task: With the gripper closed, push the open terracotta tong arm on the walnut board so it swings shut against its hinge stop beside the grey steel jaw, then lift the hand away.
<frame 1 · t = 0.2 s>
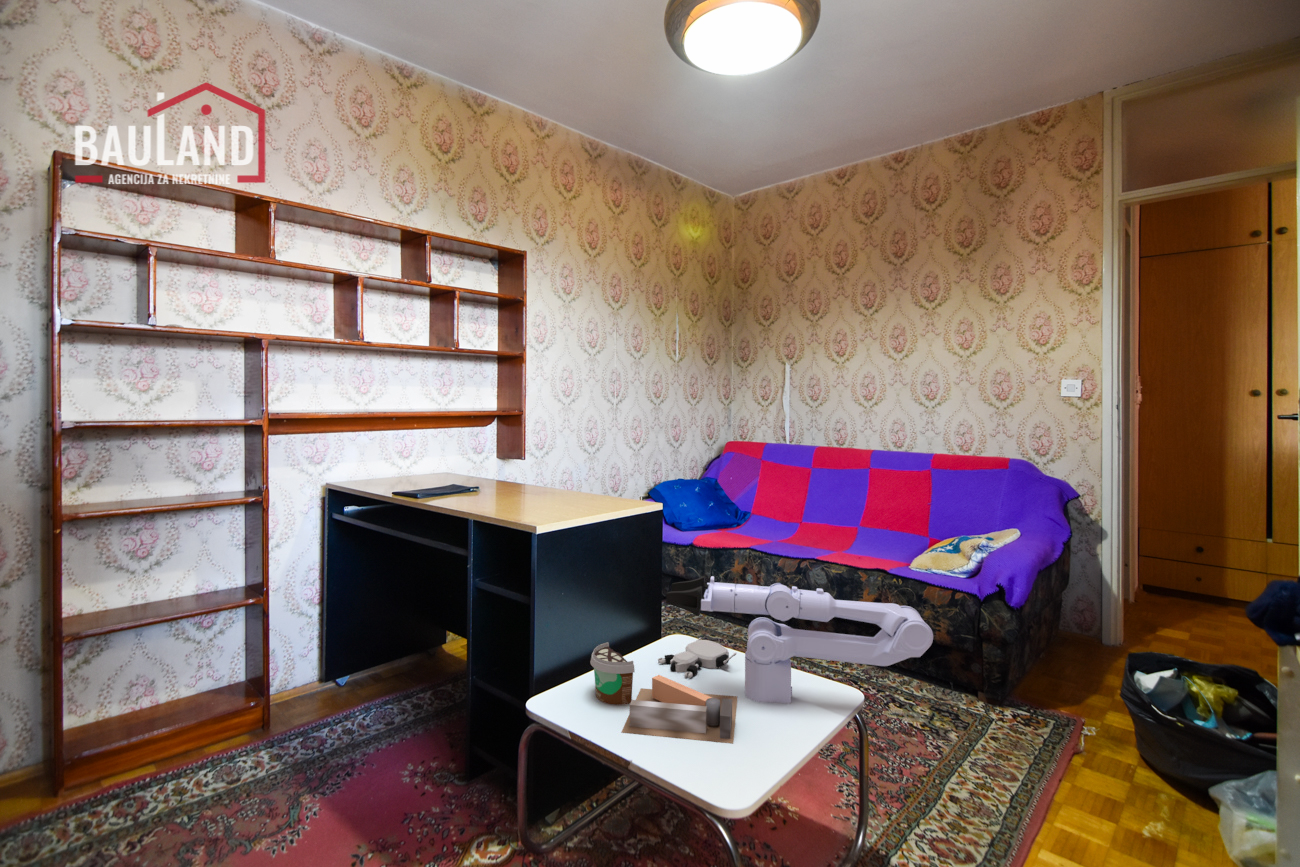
hand: (669, 592, 128), 21 cm above the table, tool horizontal, fingers open, 7 cm apart
food container: (607, 703, 124), on the table
tong board: (682, 719, 117), on the table
robot toy: (696, 670, 141), on the table
tong arm: (685, 699, 118), point 4 cm above the table, hinge at 35.0°
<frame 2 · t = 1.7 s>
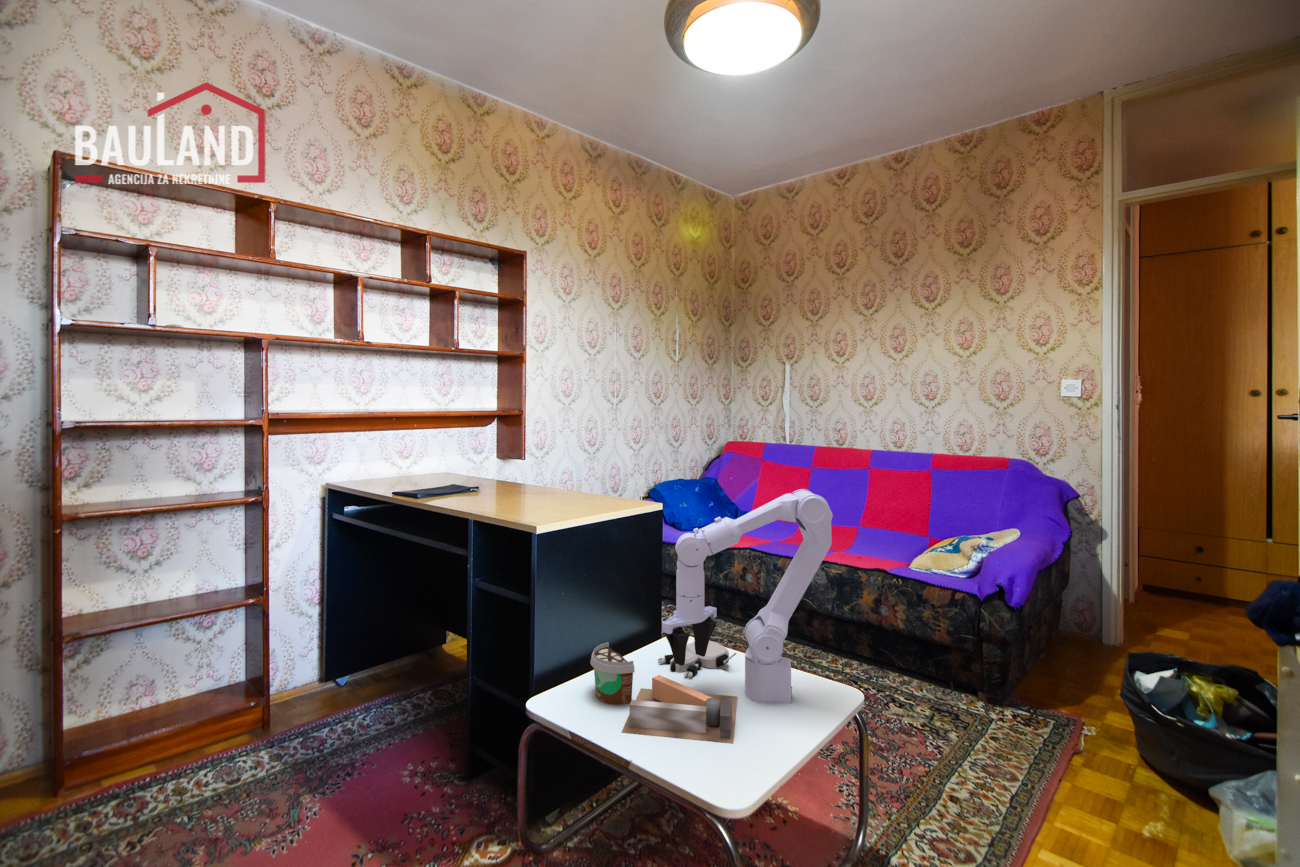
hand: (690, 659, 125), 8 cm above the table, tool pointing down, fingers open, 6 cm apart
nothing on the table moved.
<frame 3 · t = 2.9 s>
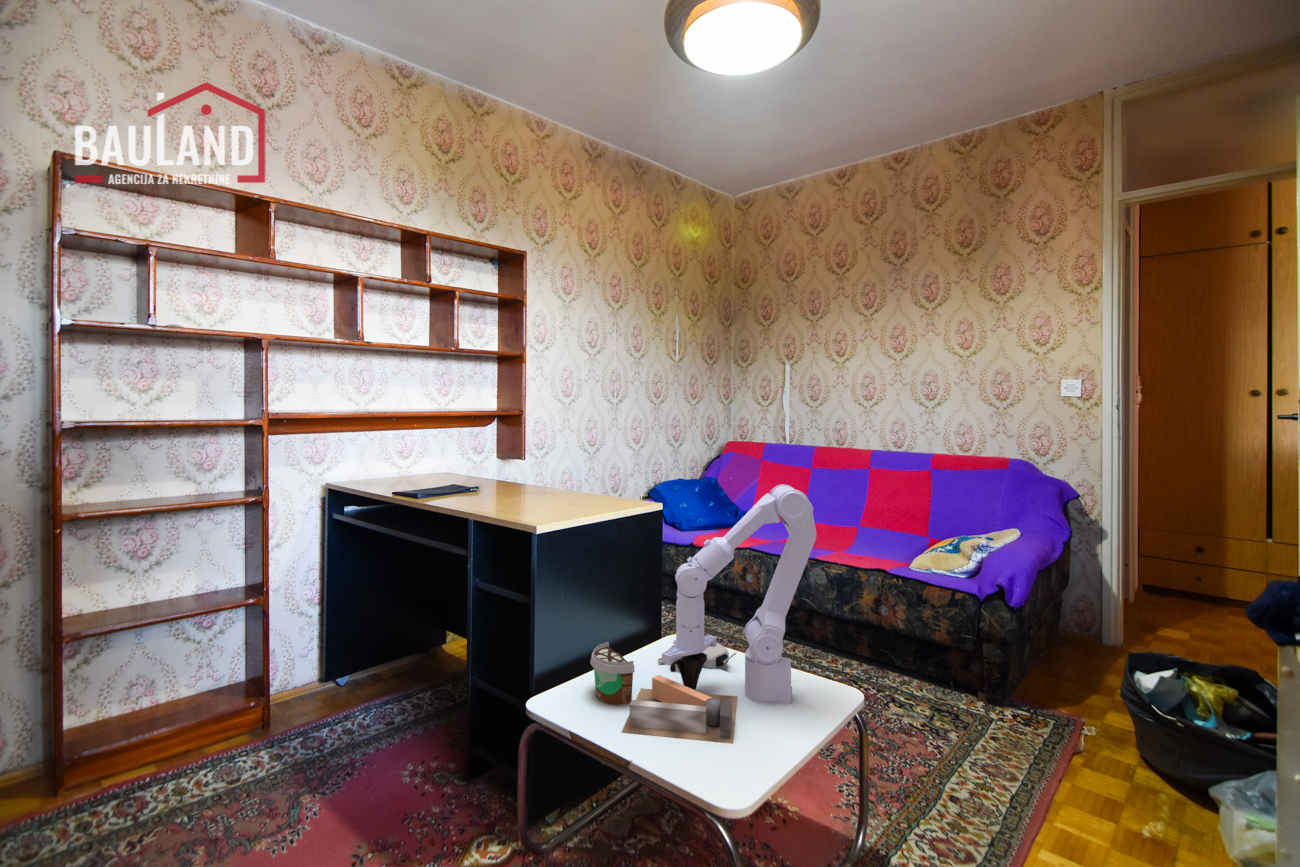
hand: (689, 689, 125), 2 cm above the table, tool pointing down, fingers closed
nothing on the table moved.
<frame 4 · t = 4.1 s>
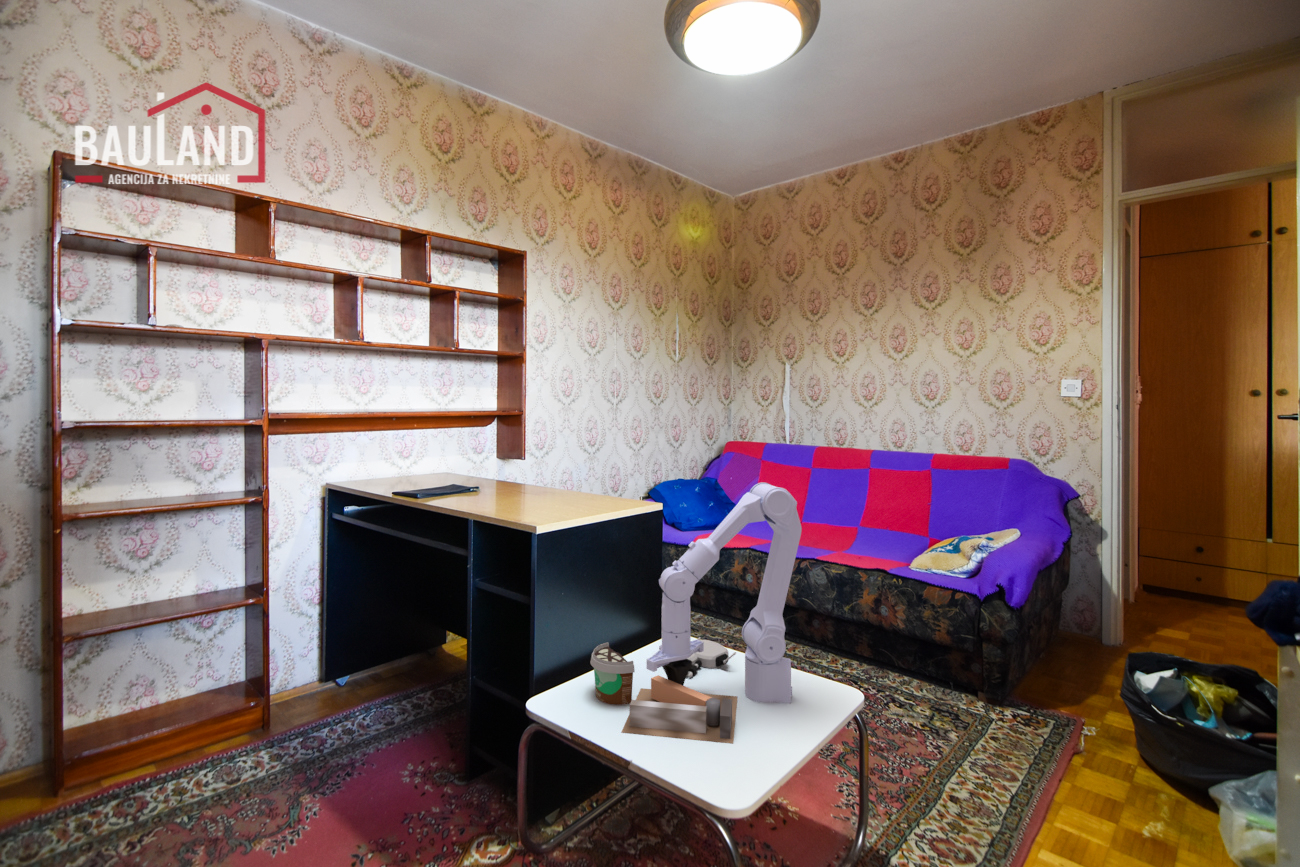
hand: (675, 695, 122), 2 cm above the table, tool pointing down, fingers closed
tong arm: (685, 699, 118), point 4 cm above the table, hinge at 33.8°, touching gripper
everything else where it was.
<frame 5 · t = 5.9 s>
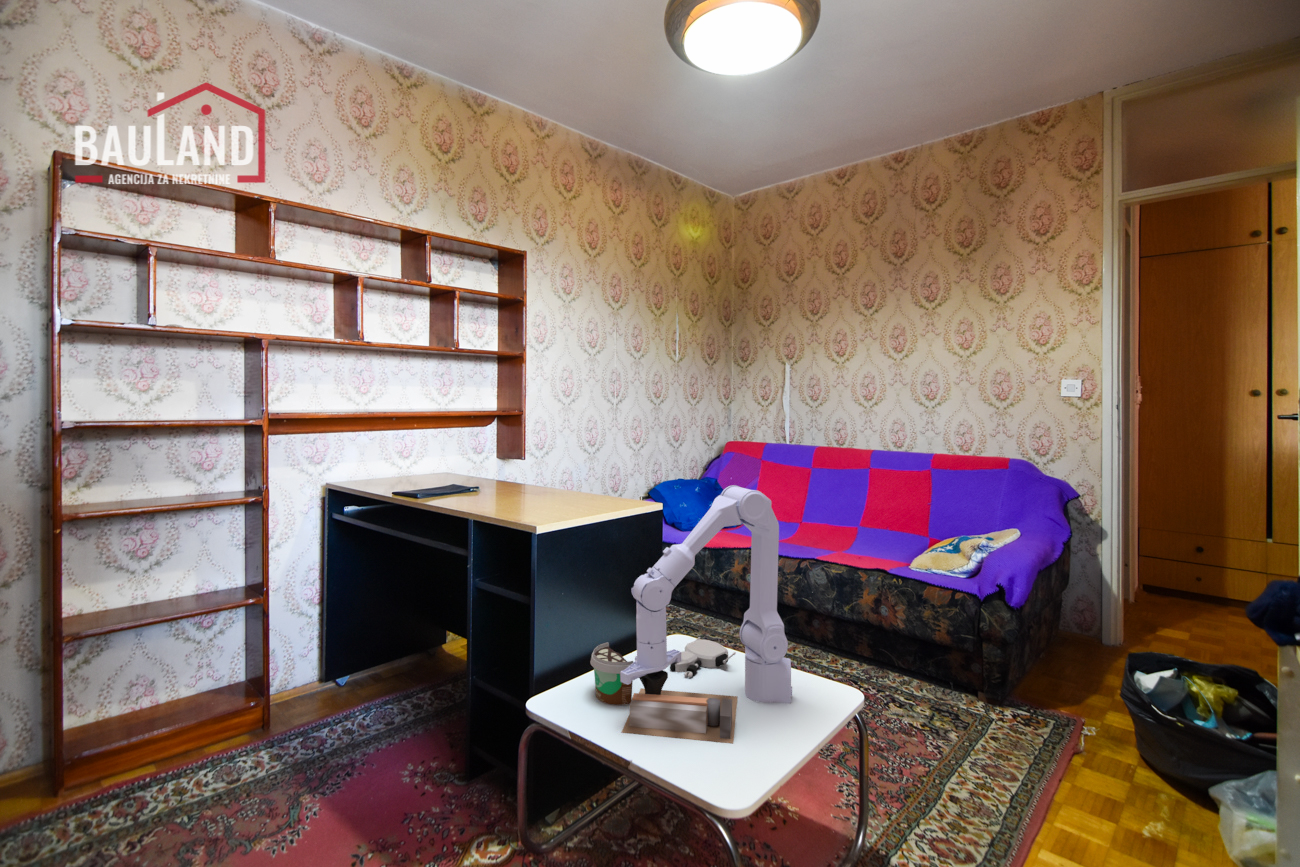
hand: (652, 708, 118), 2 cm above the table, tool pointing down, fingers closed, pressing on tong arm
tong arm: (676, 709, 114), point 4 cm above the table, hinge at -1.8°, touching gripper
everything else where it was.
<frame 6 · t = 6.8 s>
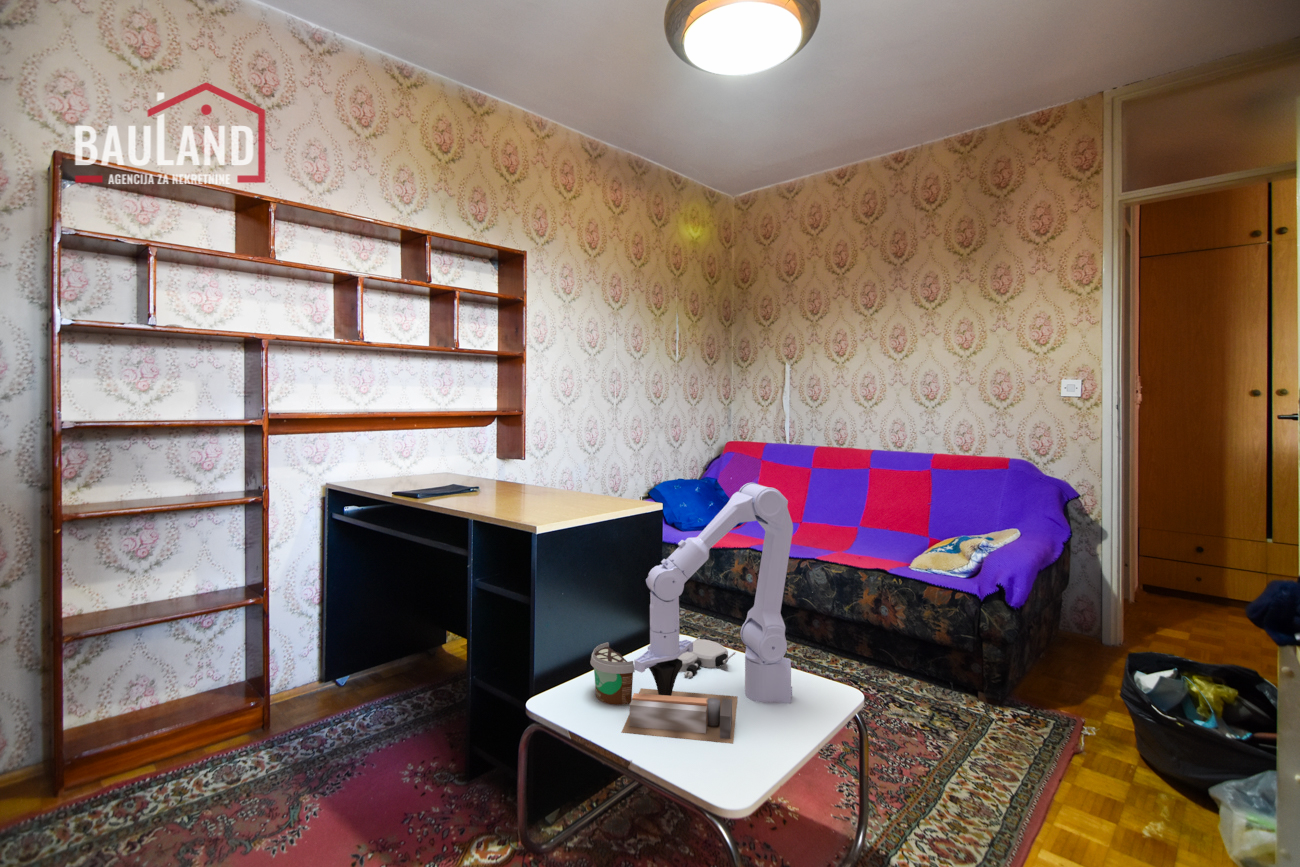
hand: (664, 696, 120), 3 cm above the table, tool pointing down, fingers closed
tong arm: (676, 709, 114), point 4 cm above the table, hinge at -2.0°
everything else where it was.
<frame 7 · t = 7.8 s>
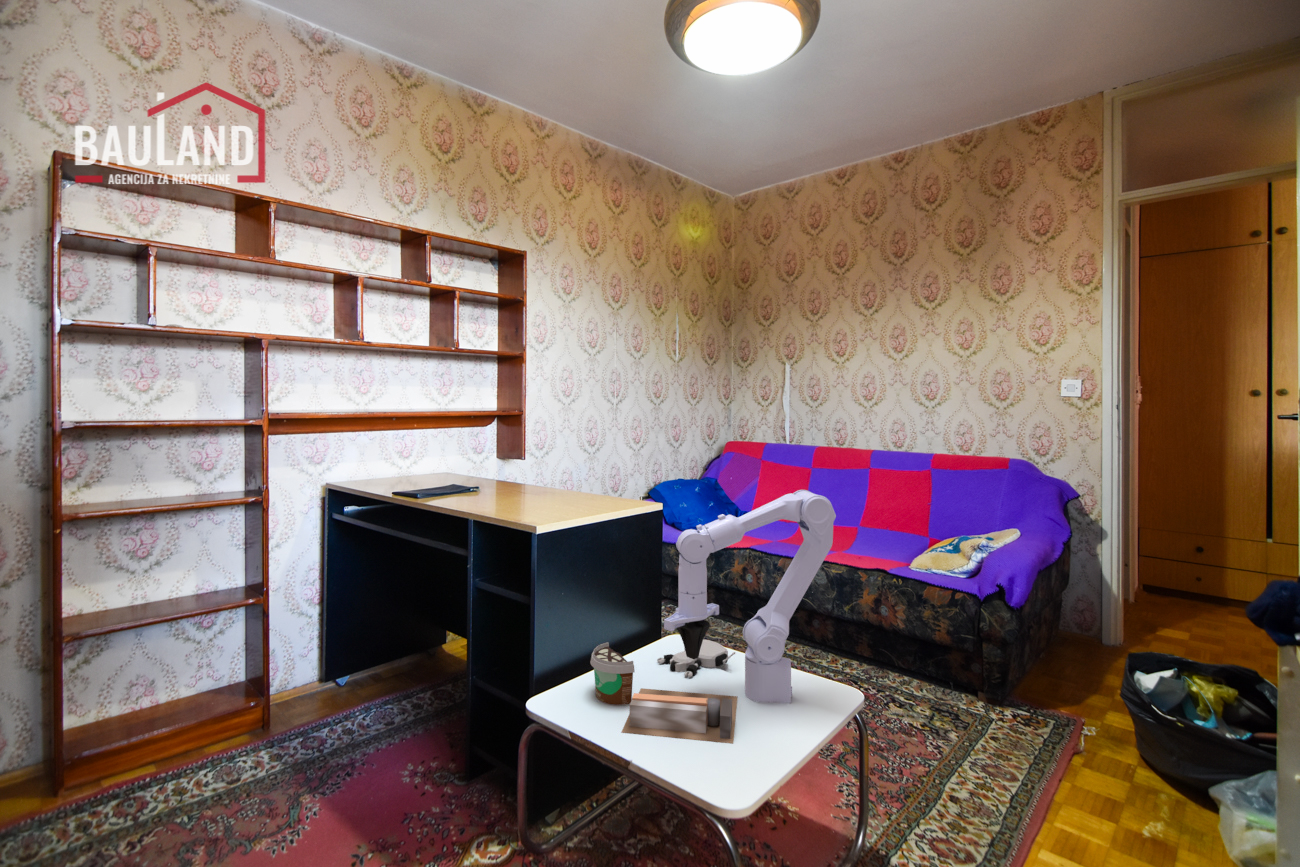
hand: (692, 657, 124), 9 cm above the table, tool pointing down, fingers closed
nothing on the table moved.
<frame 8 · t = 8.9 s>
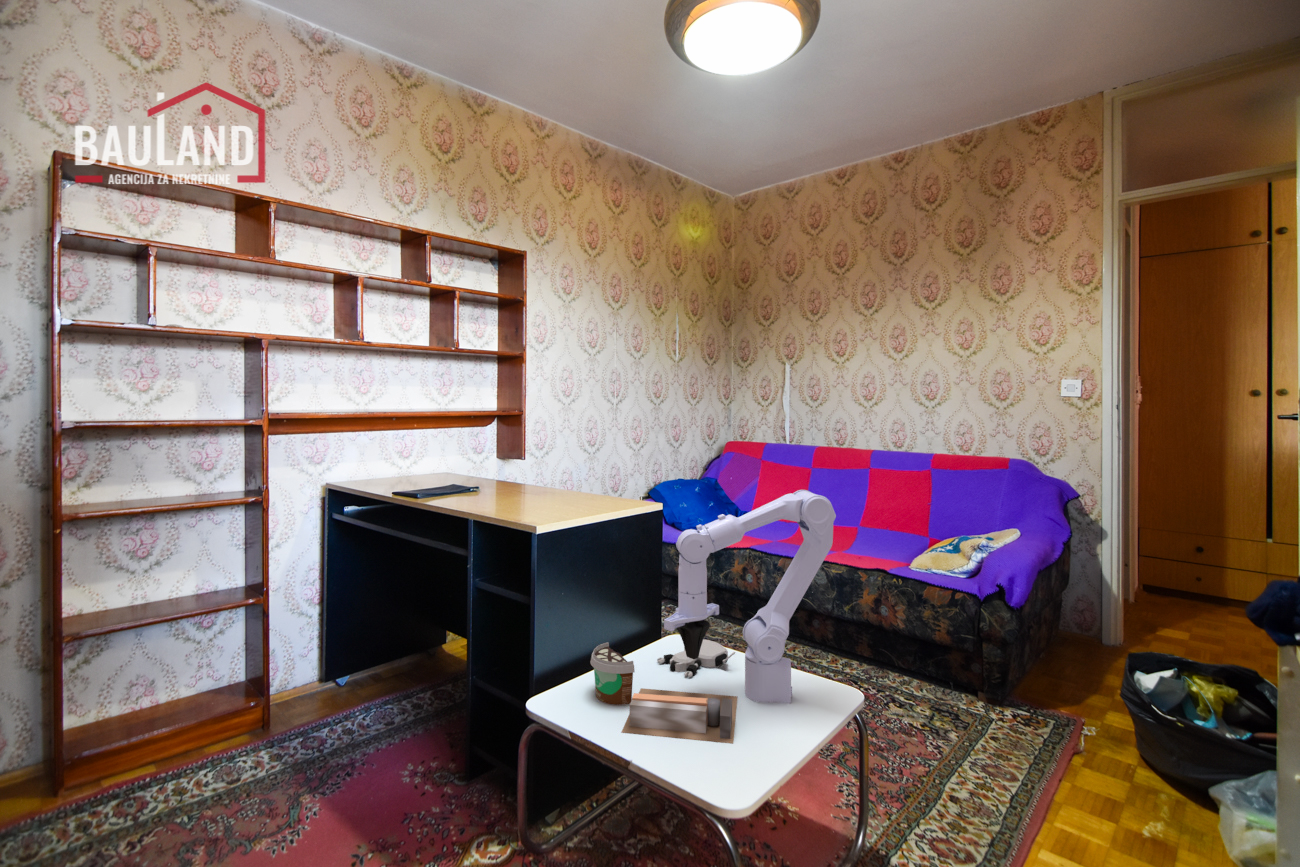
hand: (692, 657, 124), 9 cm above the table, tool pointing down, fingers closed
nothing on the table moved.
at the end: tong arm at -2° (first picture: +35°); robot toy moved 0.6 cm from its start; food container moved 0.2 cm from its start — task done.
